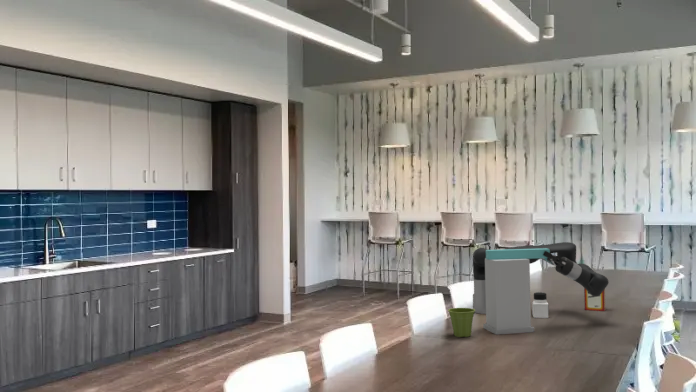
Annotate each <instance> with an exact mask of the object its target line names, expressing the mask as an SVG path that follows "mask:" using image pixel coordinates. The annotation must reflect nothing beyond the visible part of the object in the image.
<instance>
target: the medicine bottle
mask: <svg viewBox="0 0 696 392" xmlns="http://www.w3.org/2000/svg"><path fill="white" fill-rule="evenodd" d="M531 305H532V306H531V310H532V313H531V314H532V315H531V316H533V318H534V319H549V318H550V315H549V314H550V313H549V311H550V309H549V303H548V301H547V293H546V292H543V291H538V292H537V291H536V292H534V293H533V301H532V302H531Z"/></svg>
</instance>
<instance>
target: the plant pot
mask: <svg viewBox="0 0 696 392" xmlns="http://www.w3.org/2000/svg"><path fill="white" fill-rule="evenodd" d="M447 312H449V317H450V321H451V325H452V331H453V336H454V337H456V338H463V337H466V338H468V337H471V335H472V330H473V329H472V328H473V321H474V316H475V313H474V312H475V309H473V308H470V307H453V308H452V307H451V308H449V309H447Z"/></svg>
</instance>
